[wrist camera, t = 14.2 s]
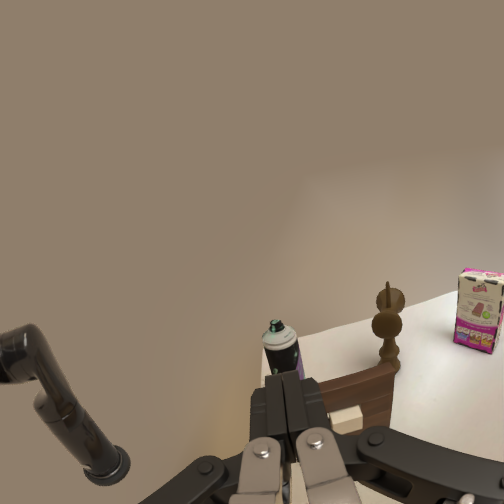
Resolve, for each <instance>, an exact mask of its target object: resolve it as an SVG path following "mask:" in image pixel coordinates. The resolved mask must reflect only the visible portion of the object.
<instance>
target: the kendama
mask: <svg viewBox="0 0 504 504" xmlns="http://www.w3.org/2000/svg"><path fill="white" fill-rule="evenodd" d="M376 304H377V308H378V309H379V311H380V313H378V314H377V315H375V317H374V318H373V320H372V330H373V332H374V334H375V335H376V336H377V337H380V338H383V339H384V343H383V346H382V347H381V348H380V350H379V355H380V357H381V361H379V363H378V365H381V364H384V363H387V362H390V363H391V365H392V366H393V368H394V370H395V373H396V372H397V371H398V370H399V369H400V366H401V365H400V361H399V360H398V358H397V356H398V354H399V352H400V351H399V347H398V346H397V345H396V342H395V337H396V336H398V334H399V333H400V332H401V329H402V320H401V318H400V316H399V315H398V313H400V312H401V311H402V310H403V308H404V305H405V298H404V295H403V293H402V292H401V291H400V290H398V289H396V288H390V286H389V282H388V281H387V282H386V289H384V290H382V291H381V292H379V294H378V296H377V300H376ZM378 365H377V366H378Z"/></svg>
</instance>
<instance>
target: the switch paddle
mask: <svg viewBox="0 0 504 504" xmlns="http://www.w3.org/2000/svg"><path fill="white" fill-rule="evenodd" d="M329 418H330V425H331V428H332V429H333V430H334V431H335V432H336V433H339V434H345V433H349V432H352V431H356V430H359V429H362V427H363V415H362V413H361V410H360V408H359V405H358V404H357V405H354V406H351V407H347V408H344V409H340V410H337V411H333V412H329Z"/></svg>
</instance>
